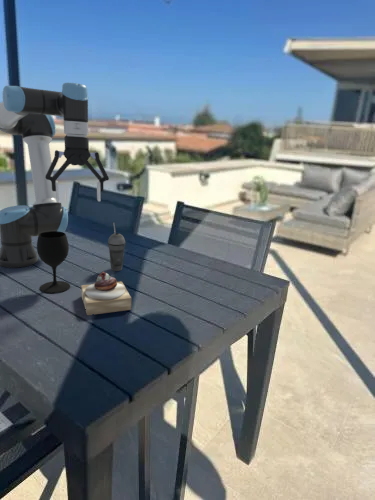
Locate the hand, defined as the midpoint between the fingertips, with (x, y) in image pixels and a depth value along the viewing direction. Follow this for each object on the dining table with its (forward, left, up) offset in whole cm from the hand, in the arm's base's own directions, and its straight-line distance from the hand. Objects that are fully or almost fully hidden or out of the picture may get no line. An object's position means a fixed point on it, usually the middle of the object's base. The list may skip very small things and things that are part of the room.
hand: (78, 201), depth 120 cm
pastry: (+14, +6, -27) cm, 31 cm away
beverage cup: (-14, +16, -32) cm, 38 cm away
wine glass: (-1, -9, -32) cm, 33 cm away
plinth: (+16, +6, -32) cm, 36 cm away
